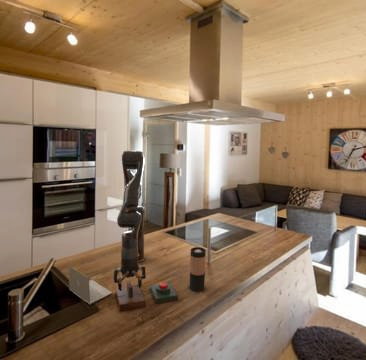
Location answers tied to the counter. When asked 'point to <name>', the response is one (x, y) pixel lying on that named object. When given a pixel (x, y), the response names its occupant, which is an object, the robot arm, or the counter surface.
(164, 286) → the red button
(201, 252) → the travel mug
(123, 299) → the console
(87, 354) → the counter surface
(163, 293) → the button block
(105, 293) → the laptop
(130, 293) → the grip knob
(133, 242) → the robot arm
